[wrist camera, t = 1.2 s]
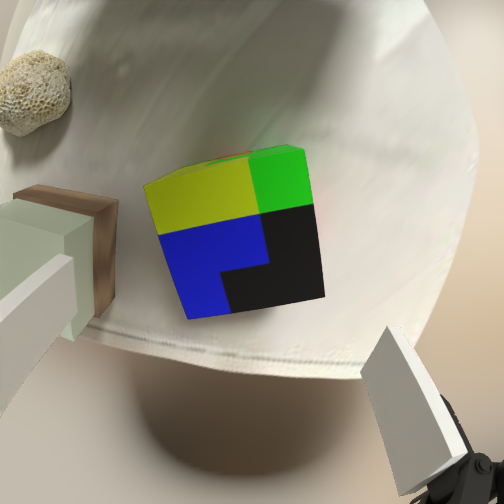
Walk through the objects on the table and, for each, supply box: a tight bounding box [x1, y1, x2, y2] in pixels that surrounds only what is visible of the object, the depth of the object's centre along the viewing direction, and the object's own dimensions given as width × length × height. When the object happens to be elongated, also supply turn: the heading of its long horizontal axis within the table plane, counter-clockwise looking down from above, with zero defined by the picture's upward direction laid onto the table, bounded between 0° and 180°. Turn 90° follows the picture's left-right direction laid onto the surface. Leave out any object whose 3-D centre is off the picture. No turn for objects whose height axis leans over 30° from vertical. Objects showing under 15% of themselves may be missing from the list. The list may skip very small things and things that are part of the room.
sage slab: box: [0, 198, 95, 342], centre depth 23 cm, size 11×11×5 cm
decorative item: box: [0, 50, 71, 136], centre depth 19 cm, size 12×9×10 cm
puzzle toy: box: [143, 145, 325, 319], centre depth 23 cm, size 10×10×10 cm
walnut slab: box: [13, 184, 118, 318], centre depth 27 cm, size 12×12×5 cm
